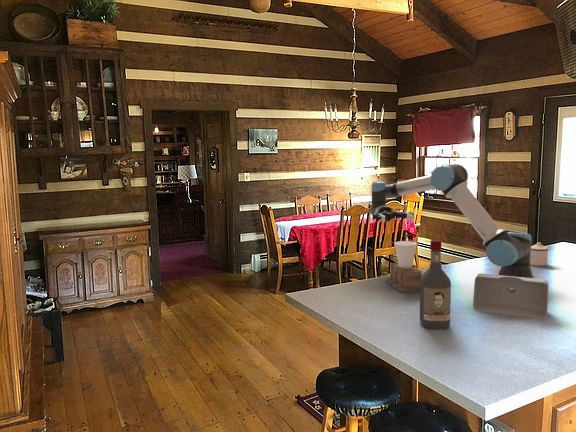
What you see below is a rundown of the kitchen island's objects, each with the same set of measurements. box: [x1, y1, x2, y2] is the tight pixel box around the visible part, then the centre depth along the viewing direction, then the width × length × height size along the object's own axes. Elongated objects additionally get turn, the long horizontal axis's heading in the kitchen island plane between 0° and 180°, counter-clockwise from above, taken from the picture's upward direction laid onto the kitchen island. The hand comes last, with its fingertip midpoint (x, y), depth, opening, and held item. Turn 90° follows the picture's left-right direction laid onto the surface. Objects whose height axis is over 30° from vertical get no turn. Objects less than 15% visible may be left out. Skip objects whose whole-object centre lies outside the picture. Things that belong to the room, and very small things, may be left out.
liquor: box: [419, 239, 452, 330], centre depth 163 cm, size 9×9×30 cm
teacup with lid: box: [530, 242, 549, 267], centre depth 249 cm, size 12×9×12 cm
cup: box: [393, 240, 418, 268], centre depth 212 cm, size 10×10×11 cm
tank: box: [472, 273, 549, 320], centre depth 179 cm, size 25×16×12 cm, turn 61°
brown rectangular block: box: [385, 262, 423, 293], centre depth 213 cm, size 18×12×9 cm, turn 6°
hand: (398, 218), depth 219 cm, fingers open, 13 cm apart
